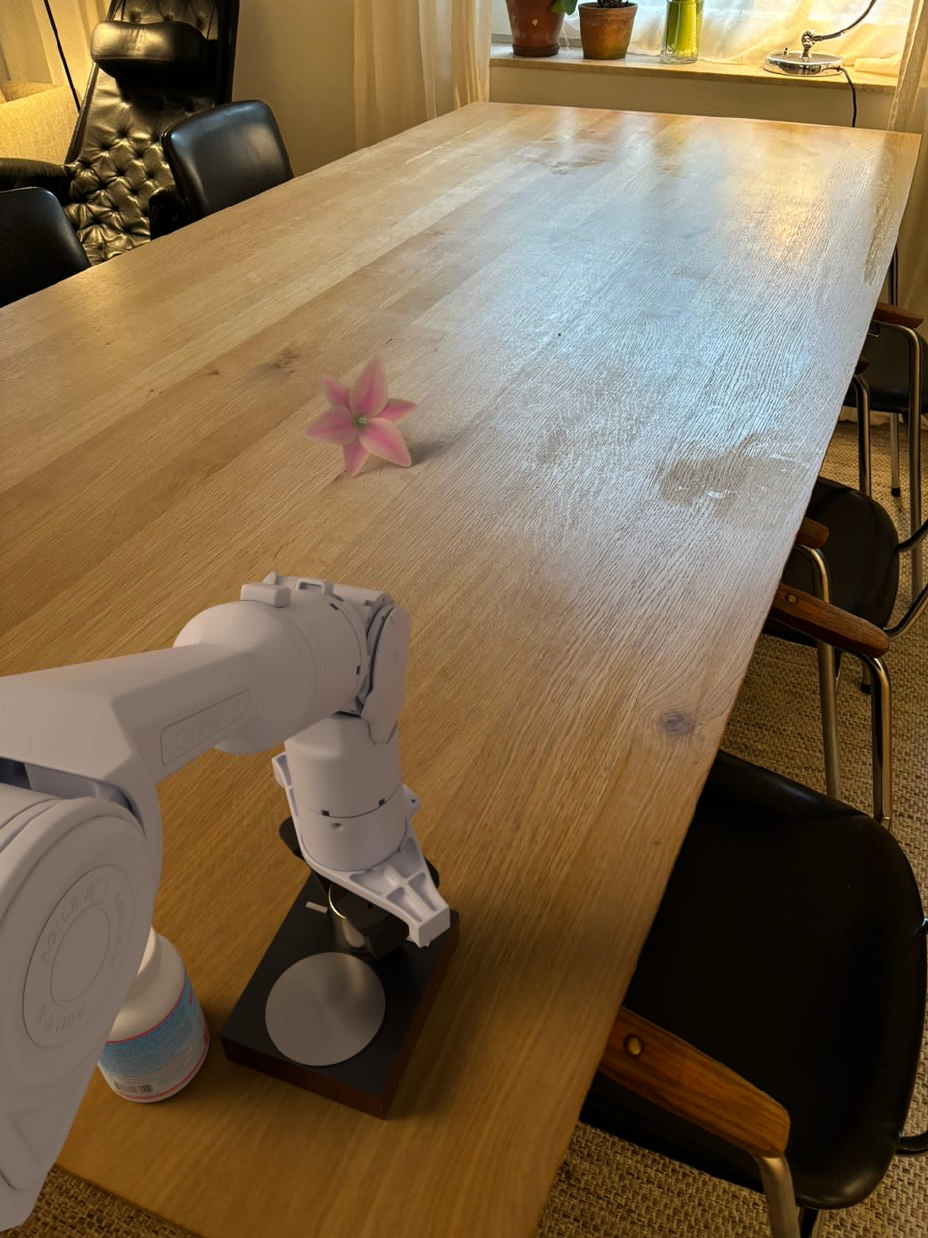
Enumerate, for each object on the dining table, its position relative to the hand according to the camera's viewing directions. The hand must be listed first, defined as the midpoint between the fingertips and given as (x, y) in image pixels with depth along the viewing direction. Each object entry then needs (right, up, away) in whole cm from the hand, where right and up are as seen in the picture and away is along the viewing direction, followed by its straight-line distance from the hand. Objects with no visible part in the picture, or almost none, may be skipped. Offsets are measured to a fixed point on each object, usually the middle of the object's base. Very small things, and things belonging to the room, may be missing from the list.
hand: (366, 920), depth 60 cm
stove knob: (0, 0, 0) cm, 0 cm away
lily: (-5, +36, +47) cm, 59 cm away
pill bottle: (-12, -7, -2) cm, 14 cm away
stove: (-1, -5, 0) cm, 5 cm away
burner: (-2, -4, -4) cm, 6 cm away
